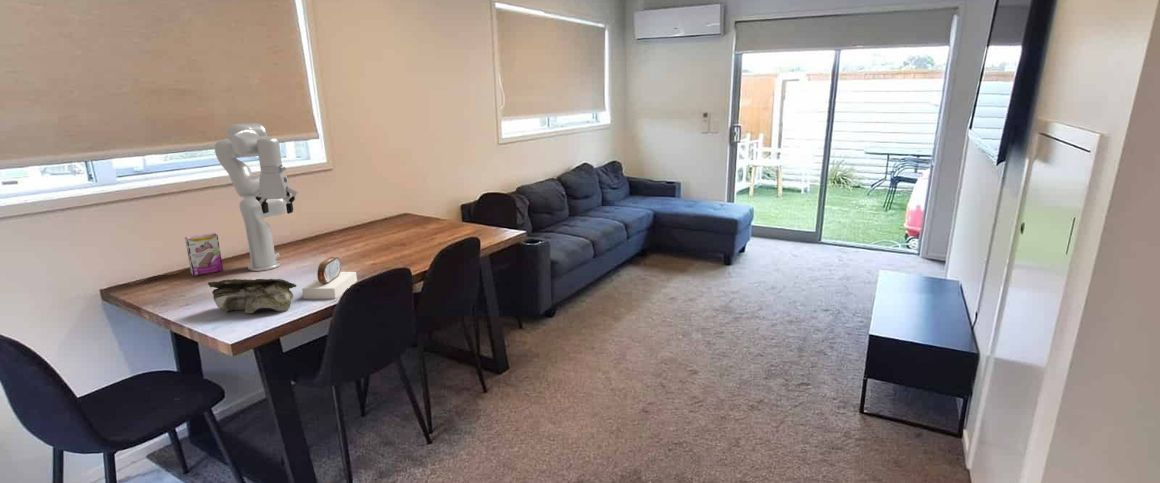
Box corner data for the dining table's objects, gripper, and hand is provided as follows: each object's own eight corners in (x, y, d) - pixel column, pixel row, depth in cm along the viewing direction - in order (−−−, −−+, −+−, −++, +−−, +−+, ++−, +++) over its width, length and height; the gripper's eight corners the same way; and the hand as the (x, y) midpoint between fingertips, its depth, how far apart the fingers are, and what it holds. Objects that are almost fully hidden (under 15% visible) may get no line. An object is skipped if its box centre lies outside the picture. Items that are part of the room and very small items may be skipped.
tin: (335, 273, 221) (333, 253, 219) (343, 273, 221) (341, 253, 219) (317, 286, 207) (315, 265, 205) (326, 286, 207) (323, 265, 205)
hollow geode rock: (215, 323, 195) (190, 306, 182) (224, 291, 202) (201, 272, 189) (295, 319, 196) (276, 301, 183) (302, 287, 203) (284, 268, 190)
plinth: (327, 281, 225) (326, 271, 224) (357, 281, 225) (356, 271, 224) (303, 298, 206) (302, 288, 205) (335, 298, 206) (334, 288, 204)
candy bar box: (193, 276, 231) (186, 239, 227) (191, 274, 234) (183, 236, 230) (224, 271, 238) (217, 234, 234) (221, 268, 242) (214, 232, 238)
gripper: (298, 168, 218) (304, 211, 222) (255, 168, 218) (261, 211, 223) (288, 171, 211) (294, 214, 215) (244, 171, 211) (251, 214, 215)
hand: (278, 212), depth 219 cm, fingers open, 9 cm apart
